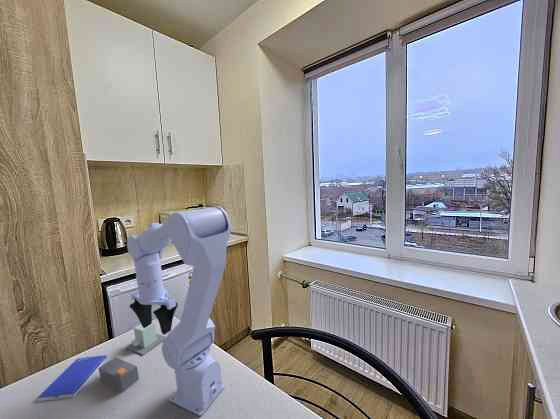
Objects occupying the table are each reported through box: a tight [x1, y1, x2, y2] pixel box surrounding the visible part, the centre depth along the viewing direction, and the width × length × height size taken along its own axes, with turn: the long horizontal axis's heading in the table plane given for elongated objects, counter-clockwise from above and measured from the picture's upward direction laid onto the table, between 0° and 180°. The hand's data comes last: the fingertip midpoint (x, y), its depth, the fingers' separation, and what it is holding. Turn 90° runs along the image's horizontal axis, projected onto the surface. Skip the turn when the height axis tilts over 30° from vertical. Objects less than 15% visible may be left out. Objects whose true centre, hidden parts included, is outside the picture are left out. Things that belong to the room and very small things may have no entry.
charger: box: [131, 322, 157, 348], centre depth 73 cm, size 4×6×6 cm
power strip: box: [98, 356, 140, 393], centre depth 60 cm, size 9×4×4 cm, turn 64°
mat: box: [125, 333, 167, 356], centre depth 74 cm, size 8×8×1 cm
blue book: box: [36, 354, 108, 402], centre depth 62 cm, size 2×8×12 cm
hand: (156, 328), depth 63 cm, fingers open, 7 cm apart
